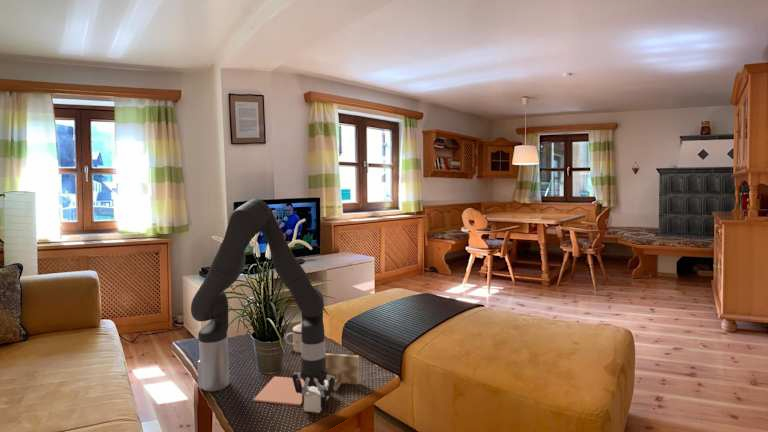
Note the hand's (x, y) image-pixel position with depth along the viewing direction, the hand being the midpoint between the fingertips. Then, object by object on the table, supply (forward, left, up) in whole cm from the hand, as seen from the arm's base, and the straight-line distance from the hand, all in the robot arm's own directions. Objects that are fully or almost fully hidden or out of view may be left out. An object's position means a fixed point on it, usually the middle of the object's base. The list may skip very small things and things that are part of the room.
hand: (314, 405), depth 138 cm
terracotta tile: (-13, +8, -1) cm, 15 cm away
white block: (0, +3, -1) cm, 3 cm away
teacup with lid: (-21, +42, -1) cm, 47 cm away
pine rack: (0, +14, -1) cm, 14 cm away
